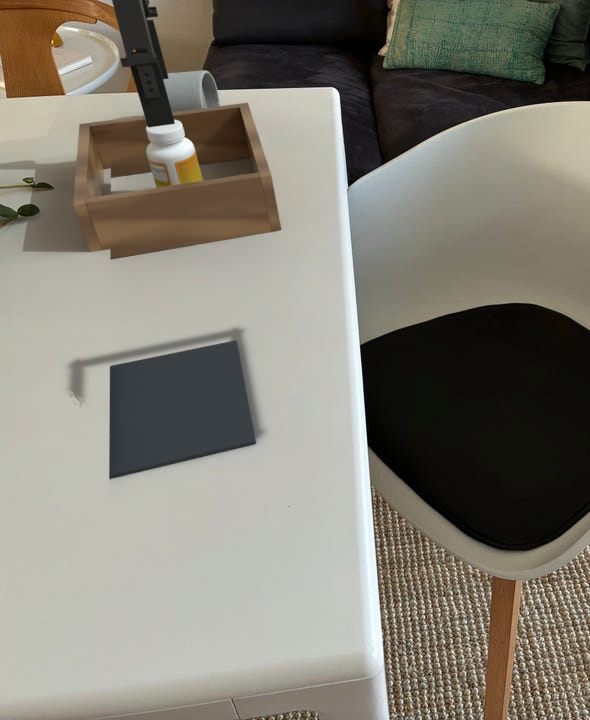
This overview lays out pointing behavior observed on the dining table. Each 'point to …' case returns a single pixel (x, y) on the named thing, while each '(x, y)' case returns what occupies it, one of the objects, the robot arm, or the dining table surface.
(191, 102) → the ceramic mug
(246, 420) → the slate mat
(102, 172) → the wooden box
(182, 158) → the supplement bottle
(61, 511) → the dining table surface
